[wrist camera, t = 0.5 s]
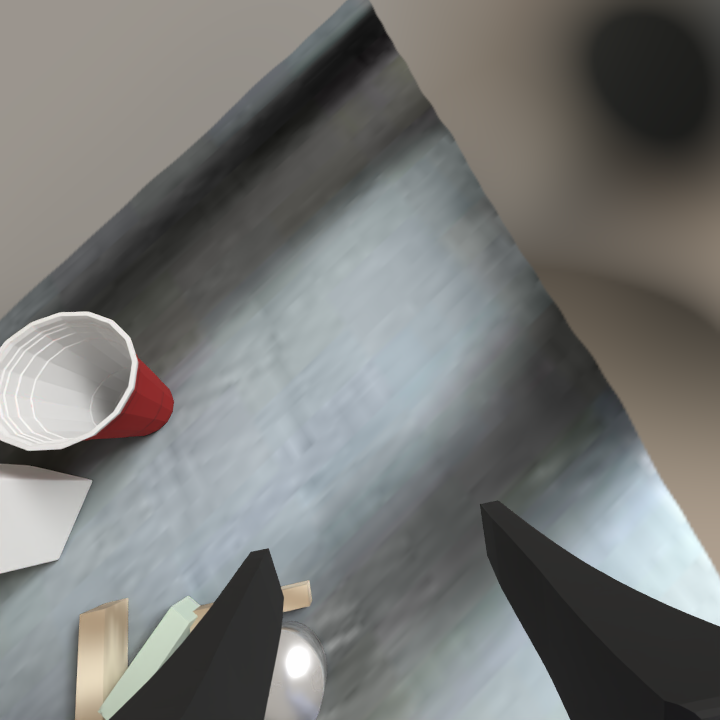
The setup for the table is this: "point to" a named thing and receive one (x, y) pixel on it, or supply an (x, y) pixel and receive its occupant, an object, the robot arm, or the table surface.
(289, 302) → the table surface
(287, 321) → the table surface
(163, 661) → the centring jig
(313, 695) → the aluminium cover
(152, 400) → the plastic cup
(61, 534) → the milk carton
